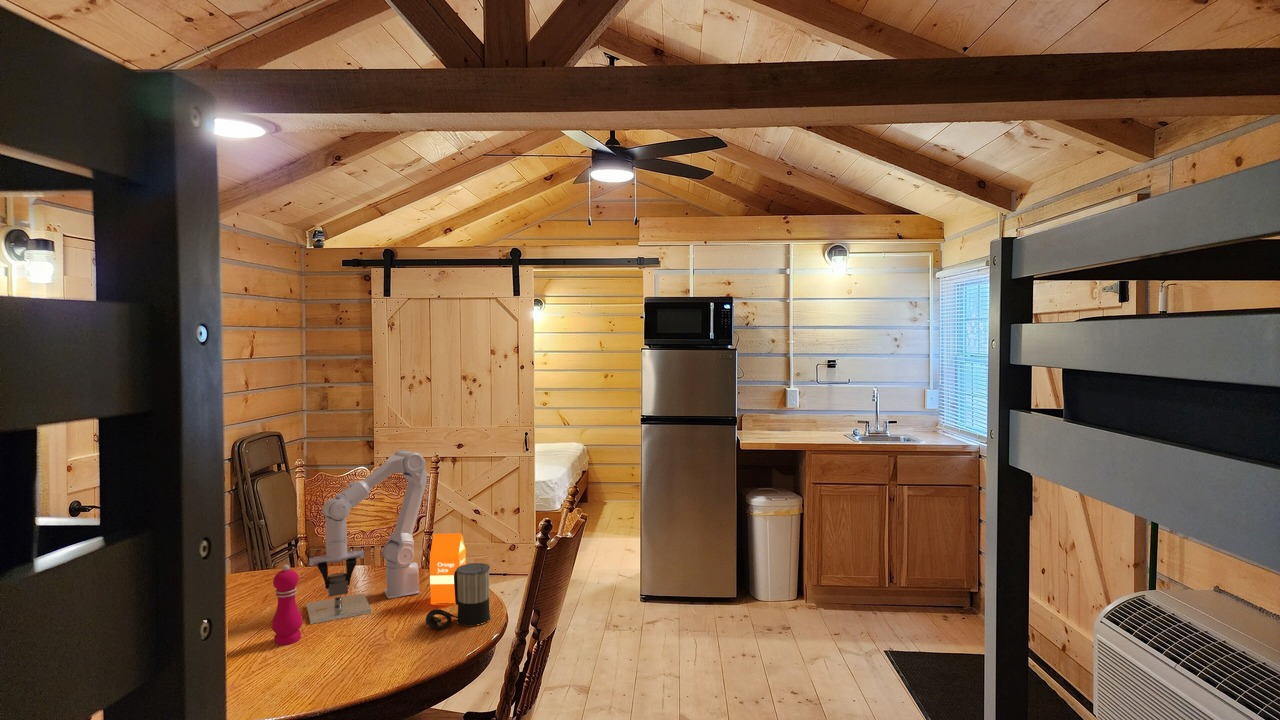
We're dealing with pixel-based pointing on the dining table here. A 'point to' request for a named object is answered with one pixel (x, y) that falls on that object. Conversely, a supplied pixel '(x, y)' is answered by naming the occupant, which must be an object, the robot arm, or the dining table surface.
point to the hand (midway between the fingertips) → (337, 586)
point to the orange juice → (445, 566)
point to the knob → (337, 584)
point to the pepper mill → (286, 608)
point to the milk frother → (467, 597)
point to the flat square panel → (337, 608)
